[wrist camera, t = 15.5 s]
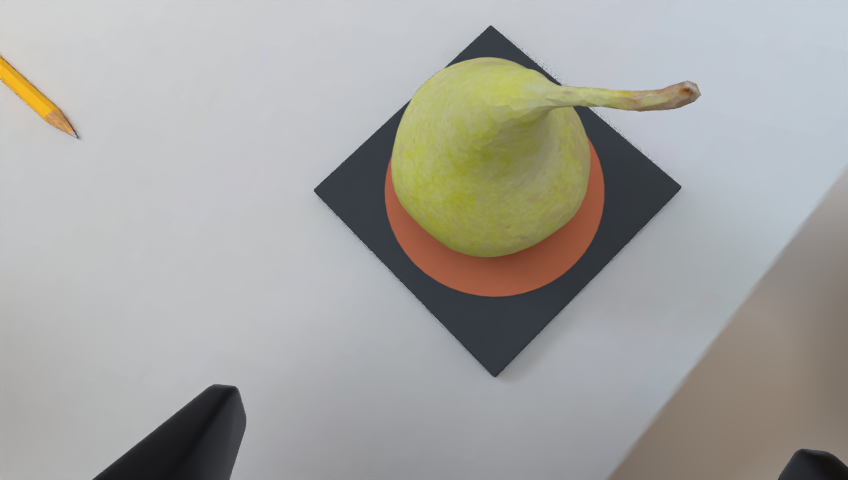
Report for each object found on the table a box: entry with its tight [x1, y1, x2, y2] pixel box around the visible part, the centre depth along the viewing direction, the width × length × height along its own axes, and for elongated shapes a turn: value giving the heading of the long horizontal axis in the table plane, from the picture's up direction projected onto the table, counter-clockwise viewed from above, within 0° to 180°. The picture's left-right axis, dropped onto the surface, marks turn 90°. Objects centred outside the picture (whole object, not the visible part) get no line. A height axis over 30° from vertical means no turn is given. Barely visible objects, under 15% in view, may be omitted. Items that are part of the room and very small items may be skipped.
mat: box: [314, 26, 681, 377], centre depth 22 cm, size 11×11×1 cm
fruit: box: [391, 57, 701, 257], centre depth 16 cm, size 7×8×12 cm
